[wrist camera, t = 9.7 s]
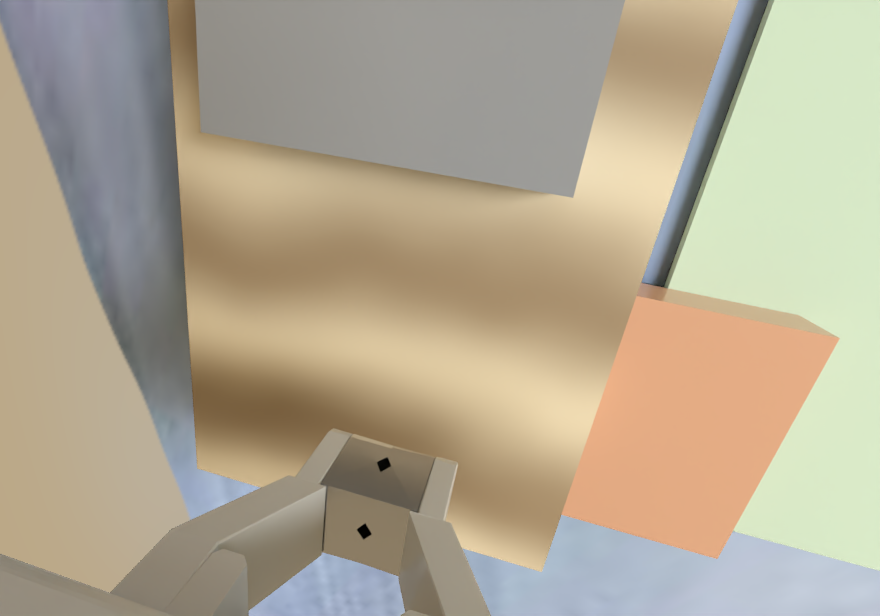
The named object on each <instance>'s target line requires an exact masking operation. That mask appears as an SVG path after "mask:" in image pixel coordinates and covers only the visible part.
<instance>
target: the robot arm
mask: <svg viewBox="0 0 880 616" xmlns="http://www.w3.org/2000/svg"><path fill="white" fill-rule="evenodd" d="M457 467H458V463H457V462H456V461H452V460H448V459H444V458H440V457H434V456H431V455H427V454H423V453H419V452H415V451H412V450H408V449H404V448H400V447H397V446H393V445H389V444H386V443H383V442H379V441H376V440H373V439H369V438H366V437H363V436H359V435H356V434H351V433H348V432H344V431H341V430H338V429H335V428H333V429H332V430H330V431H329V432H328V433H327V434H326V435H325V437H324V438H323V440H322V441H321V442H320V444H319V445H318V446H317V448H316V449H315V450H314V452H313V453H312V454H311V456H310V457H309V459H308V460H307V461H306V463H305V464H304V465H303V467H302V468H301V469H300V471H299V472H298V474H297V475H296V476H295V477H293V476H289V475H288V476H286V477H284V478H282V479H279V480H277V481H275V482H273V483H271V484H269V485H266V486H264V487H262V488H260V489H258V490H255V491H253V492H251V493H249V494H247V495H244V496H242V497H240V498H238V499H236V500H234V501H231V502H229V503H227V504H225V505H223V506H220V507H218V508H216V509H214V510H212V511H210V512H207V513H205V514H203V515H201V516H199V517H196V518H194V519H192V520H190V521H188V522H185V523H183V524H181V525H179V526H177V527H175V528H172V529H171V530H170V531H169V532H168V533H167V534H166V535H165V536H164V537H163V538H162V539H161V540H160V541H159V542H158V543H157V544H156V545H155V546H154V548H153V549H152V550H151V551H150V552H149V553H148V554H147V555H146V556H145V557H144V558H143V559H142V560H141V561H140V562H139V563H138V564H137V565H136V566H135V567H134V568H133V569H132V570H131V571H130V572H129V574H127V575H126V577H125V578H124V579H123V580H122V581H121V582H120V583H119V584H118V585H117V586H116V587H115V588H114V589H113V590H112V591H111V592H110V593H109V592H106V591H103V590H100V589H97V588H95V587H92V586H89V585H86V584H83V583H81V582H78V581H75V580H72V579H70V578H67V577H64V576H61V575H58V574H56V573H53V572H50V571H47V570H44V569H42V568H39V567H36V566H33V565H30V564H28V563H25V562H22V561H19V560H16V559H14V558H11V557H8V556H5V555H2V554H0V616H248V611H249V610H250V609H252V608H253V607H254V606H255V605H257V604H258V603H259V602H261V601H262V600H263V599H265V598H266V597H267V596H268V595H270V594H271V593H272V592H274V591H275V590H276V589H278V588H279V587H280V586H281V585H283V584H284V583H285V582H287V581H288V580H289V579H291V578H292V577H293V576H295V575H296V574H297V573H298V572H300V571H301V570H302V569H304V568H305V567H306V566H308V565H309V564H310V563H311V562H313V561H314V560H315V559H317V558H318V557H319V556H321V554H322V552H324V553H327V554H331V555H334V556H338V557H341V558H345V559H348V560H352V561H355V562H359V563H362V564H365V565H368V566H371V567H374V568H376V569H379V570H382V571H385V572H388V573H391V574H394V575H396V576H399V578H398V579H399V584H400V588H401V593H402V598H403V603H404V608H405V613H403V614H402V615H401V616H491V615H490V612H489V610H488V608H487V605H486V603H485V601H484V598H483V596H482V594H481V591H480V589H479V587H478V584H477V582H476V580H475V577H474V575H473V573H472V570H471V568H470V566H469V563H468V561H467V558H466V556H465V554H464V551H463V549H462V547H461V544H460V542H459V540H458V537H457V535H456V533H455V530H454V528H453V526H452V523H450V522H446V518H447V513H448V508H449V504H450V499H451V495H452V490H453V485H454V481H455V476H456V472H457Z"/></svg>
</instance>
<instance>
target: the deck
mask: <svg viewBox="0 0 880 616" xmlns="http://www.w3.org/2000/svg"><path fill="white" fill-rule="evenodd" d="M167 1H168V17H169V33H170V48H171V64H172V79H173V95H174V111H175V126H176V142H177V157H178V173H179V189H180V204H181V220H182V236H183V251H184V267H185V282H186V298H187V314H188V329H189V345H190V360H191V376H192V392H193V407H194V423H195V439H196V454H197V468H198V469H201V470H204V471H208V472H211V473H214V474H218V475H221V476H224V477H228V478H231V479H234V480H238V481H241V482H244V483H248V484H251V485H254V486H258V487H261V488H262V487H264V486H266V485H269V484H271V483H273V482H275V481H277V480H279V479H282V478H284V477H286V476H288V475H289V476H293V477H295V476H296V475H297V474H298V472H299V471H300V469H301V468H302V467H303V465H304V464H305V463H306V461H307V460H308V459H309V457H310V456H311V454H312V453H313V452H314V450H315V449H316V448H317V446H318V445H319V444H320V442H321V441H322V440H323V438H324V437H325V435H326V434H327V433H328V432H329V431H330V430H332V429H333V428H335V429H338V430H341V431H344V432H348V433H351V434H356V435H359V436H363V437H366V438H369V439H373V440H376V441H379V442H383V443H386V444H389V445H393V446H397V447H400V448H404V449H408V450H412V451H415V452H419V453H423V454H427V455H431V456H434V457H440V458H444V459H448V460H452V461H456V462H457V463H458V467H457V472H456V476H455V481H454V485H453V490H452V495H451V499H450V504H449V508H448V513H447V518H446V522H450V523H452V526H453V528H454V530H455V533H456V535H457V537H458V540H459V542H460V544H461V547H462V548H464V549H467V550H470V551H474V552H477V553H480V554H484V555H487V556H490V557H494V558H497V559H500V560H504V561H507V562H510V563H514V564H517V565H520V566H524V567H527V568H530V569H534V570H537V571H540V572H542V569H543V567H544V564H545V561H546V558H547V555H548V552H549V549H550V546H551V543H552V540H553V537H554V535H555V532H556V529H557V526H558V523H559V520H560V517H561V514H562V511H563V508H564V505H565V503H566V500H567V497H568V494H569V491H570V488H571V485H572V482H573V479H574V476H575V473H576V471H577V468H578V465H579V462H580V459H581V456H582V453H583V450H584V447H585V444H586V441H587V439H588V436H589V433H590V430H591V427H592V424H593V421H594V418H595V415H596V412H597V410H598V407H599V404H600V401H601V398H602V395H603V392H604V389H605V386H606V383H607V380H608V378H609V375H610V372H611V369H612V366H613V363H614V360H615V357H616V354H617V351H618V348H619V346H620V343H621V340H622V337H623V334H624V331H625V328H626V325H627V322H628V319H629V316H630V314H631V311H632V308H633V305H634V302H635V299H636V296H637V293H638V290H639V287H640V284H641V282H642V279H643V276H644V273H645V270H646V267H647V264H648V261H649V258H650V255H651V252H652V250H653V247H654V244H655V241H656V238H657V235H658V232H659V229H660V226H661V223H662V220H663V218H664V215H665V212H666V209H667V206H668V203H669V200H670V197H671V194H672V191H673V189H674V186H675V183H676V180H677V177H678V174H679V171H680V168H681V165H682V162H683V159H684V157H685V154H686V151H687V148H688V145H689V142H690V139H691V136H692V133H693V130H694V127H695V125H696V122H697V119H698V116H699V113H700V110H701V107H702V104H703V101H704V98H705V95H706V93H707V90H708V87H709V84H710V81H711V78H712V75H713V72H714V69H715V66H716V63H717V61H718V58H719V55H720V52H721V49H722V46H723V43H724V40H725V37H726V34H727V31H728V29H729V26H730V23H731V20H732V17H733V14H734V11H735V8H736V5H737V2H738V0H625V2H624V6H623V10H622V14H621V18H620V21H619V25H618V29H617V33H616V37H615V40H614V44H613V48H612V52H611V56H610V59H609V63H608V67H607V71H606V75H605V78H604V82H603V86H602V90H601V94H600V97H599V101H598V105H597V109H596V113H595V117H594V120H593V124H592V128H591V132H590V136H589V139H588V143H587V147H586V151H585V155H584V158H583V162H582V166H581V170H580V174H579V177H578V181H577V185H576V189H575V193H574V196H573V198H571V197H566V196H560V195H554V194H549V193H543V192H537V191H532V190H526V189H520V188H515V187H509V186H503V185H498V184H492V183H486V182H481V181H475V180H469V179H464V178H458V177H452V176H447V175H441V174H435V173H430V172H424V171H418V170H413V169H407V168H401V167H396V166H390V165H384V164H378V163H373V162H367V161H361V160H356V159H350V158H344V157H339V156H333V155H327V154H322V153H316V152H310V151H305V150H299V149H293V148H288V147H282V146H276V145H271V144H265V143H259V142H254V141H248V140H242V139H237V138H231V137H225V136H220V135H214V134H208V133H203V132H201V125H200V103H199V80H198V58H197V35H196V13H195V0H167Z"/></svg>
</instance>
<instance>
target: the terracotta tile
mask: <svg viewBox="0 0 880 616" xmlns="http://www.w3.org/2000/svg"><path fill="white" fill-rule="evenodd" d="M839 339H840V338H838V337H837V336H835V335H833V334H831V333H830V332H828V331H826V330H824V329H823V328H821V327H819V326H817V325H815V324H814V323H812V322H810V321H808V320H807V319H805V318H803V317H801V316H799V315H796V314H791V313H786V312H781V311H776V310H771V309H766V308H761V307H757V306H752V305H747V304H742V303H737V302H732V301H727V300H722V299H717V298H713V297H708V296H703V295H698V294H693V293H688V292H683V291H678V290H673V289H668V288H664V287H659V286H654V285H649V284H644V283H641V284H640V287H639V290H638V293H637V296H636V299H635V302H634V305H633V308H632V311H631V314H630V316H629V319H628V322H627V325H626V328H625V331H624V334H623V337H622V340H621V343H620V346H619V348H618V351H617V354H616V357H615V360H614V363H613V366H612V369H611V372H610V375H609V378H608V380H607V383H606V386H605V389H604V392H603V395H602V398H601V401H600V404H599V407H598V410H597V412H596V415H595V418H594V421H593V424H592V427H591V430H590V433H589V436H588V439H587V441H586V444H585V447H584V450H583V453H582V456H581V459H580V462H579V465H578V468H577V471H576V473H575V476H574V479H573V482H572V485H571V488H570V491H569V494H568V497H567V500H566V503H565V505H564V508H563V511H562V514H561V515H565V516H568V517H572V518H575V519H579V520H582V521H586V522H589V523H593V524H596V525H600V526H603V527H607V528H611V529H614V530H618V531H621V532H625V533H628V534H632V535H635V536H639V537H642V538H646V539H649V540H653V541H656V542H660V543H663V544H667V545H670V546H674V547H677V548H681V549H684V550H688V551H691V552H695V553H699V554H702V555H706V556H709V557H713V558H716V559H717V558H718V557H719V555H720V553H721V551H722V549H723V548H724V546H725V544H726V542H727V540H728V539H729V537H730V535H731V533H732V531H733V530H734V528H735V526H736V524H737V522H738V521H739V519H740V517H741V515H742V513H743V512H744V510H745V508H746V506H747V504H748V503H749V501H750V499H751V497H752V495H753V494H754V492H755V490H756V488H757V486H758V485H759V483H760V481H761V479H762V477H763V476H764V474H765V472H766V470H767V468H768V467H769V465H770V463H771V461H772V460H773V458H774V456H775V454H776V452H777V451H778V449H779V447H780V445H781V443H782V442H783V440H784V438H785V436H786V434H787V433H788V431H789V429H790V427H791V425H792V424H793V422H794V420H795V418H796V416H797V415H798V413H799V411H800V409H801V407H802V406H803V404H804V402H805V400H806V398H807V397H808V395H809V393H810V391H811V389H812V388H813V386H814V384H815V382H816V380H817V379H818V377H819V375H820V373H821V371H822V370H823V368H824V366H825V364H826V362H827V361H828V359H829V357H830V355H831V353H832V352H833V350H834V348H835V346H836V344H837V343H838V341H839Z"/></svg>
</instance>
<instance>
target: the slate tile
mask: <svg viewBox="0 0 880 616" xmlns="http://www.w3.org/2000/svg"><path fill="white" fill-rule="evenodd" d="M624 2H625V0H195V13H196V35H197V58H198V80H199V103H200V125H201V132H203V133H208V134H214V135H220V136H225V137H231V138H237V139H242V140H248V141H254V142H259V143H265V144H271V145H276V146H282V147H288V148H293V149H299V150H305V151H310V152H316V153H322V154H327V155H333V156H339V157H344V158H350V159H356V160H361V161H367V162H373V163H378V164H384V165H390V166H396V167H401V168H407V169H413V170H418V171H424V172H430V173H435V174H441V175H447V176H452V177H458V178H464V179H469V180H475V181H481V182H486V183H492V184H498V185H503V186H509V187H515V188H520V189H526V190H532V191H537V192H543V193H549V194H554V195H560V196H566V197H571V198H573V196H574V193H575V189H576V185H577V181H578V177H579V174H580V170H581V166H582V162H583V158H584V155H585V151H586V147H587V143H588V139H589V136H590V132H591V128H592V124H593V120H594V117H595V113H596V109H597V105H598V101H599V97H600V94H601V90H602V86H603V82H604V78H605V75H606V71H607V67H608V63H609V59H610V56H611V52H612V48H613V44H614V40H615V37H616V33H617V29H618V25H619V21H620V18H621V14H622V10H623V6H624Z"/></svg>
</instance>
